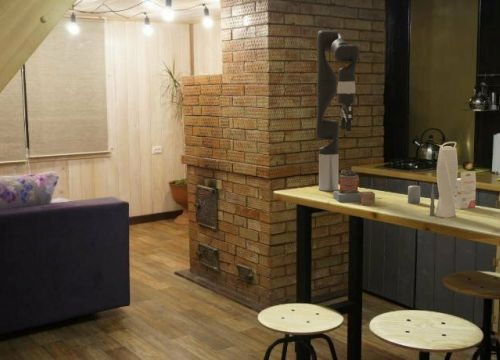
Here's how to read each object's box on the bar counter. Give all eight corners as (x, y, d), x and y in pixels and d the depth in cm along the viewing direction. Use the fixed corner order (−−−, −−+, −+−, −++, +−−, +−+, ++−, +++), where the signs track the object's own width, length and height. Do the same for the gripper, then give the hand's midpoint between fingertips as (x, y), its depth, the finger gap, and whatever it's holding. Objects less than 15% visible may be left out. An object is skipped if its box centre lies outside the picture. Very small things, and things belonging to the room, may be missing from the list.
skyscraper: (443, 213, 235) (445, 140, 231) (461, 217, 229) (463, 142, 225) (428, 216, 231) (430, 142, 227) (446, 219, 224) (448, 143, 220)
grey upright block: (406, 202, 259) (406, 185, 258) (417, 201, 260) (418, 185, 259) (410, 204, 254) (410, 187, 253) (421, 203, 255) (422, 187, 254)
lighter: (357, 192, 268) (357, 169, 266) (358, 193, 264) (358, 170, 263) (339, 192, 268) (339, 169, 267) (339, 193, 265) (340, 170, 263)
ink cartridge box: (465, 205, 251) (467, 169, 248) (475, 207, 246) (476, 170, 244) (450, 207, 247) (451, 171, 245) (459, 209, 242) (461, 172, 240)
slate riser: (333, 197, 272) (333, 190, 272) (357, 196, 273) (357, 190, 272) (338, 201, 261) (338, 194, 261) (364, 201, 262) (364, 194, 262)
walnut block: (359, 203, 258) (359, 191, 257) (371, 203, 258) (371, 191, 257) (362, 205, 253) (362, 193, 252) (374, 205, 253) (374, 193, 253)
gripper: (334, 92, 270) (333, 129, 272) (341, 92, 256) (341, 131, 258) (350, 91, 270) (350, 128, 273) (359, 92, 256) (358, 131, 259)
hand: (345, 130), depth 266 cm, fingers open, 8 cm apart
